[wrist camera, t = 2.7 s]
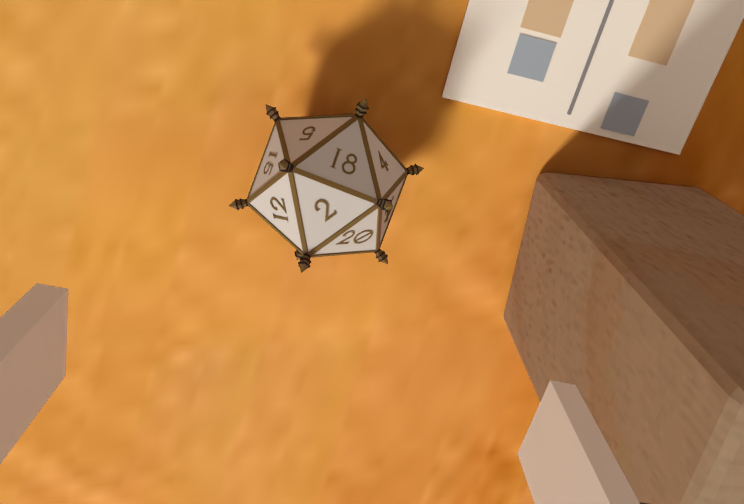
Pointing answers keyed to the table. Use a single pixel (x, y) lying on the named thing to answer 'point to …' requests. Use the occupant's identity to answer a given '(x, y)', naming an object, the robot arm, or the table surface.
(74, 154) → the table surface
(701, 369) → the wooden block
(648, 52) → the page
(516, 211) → the table surface
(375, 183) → the game die
